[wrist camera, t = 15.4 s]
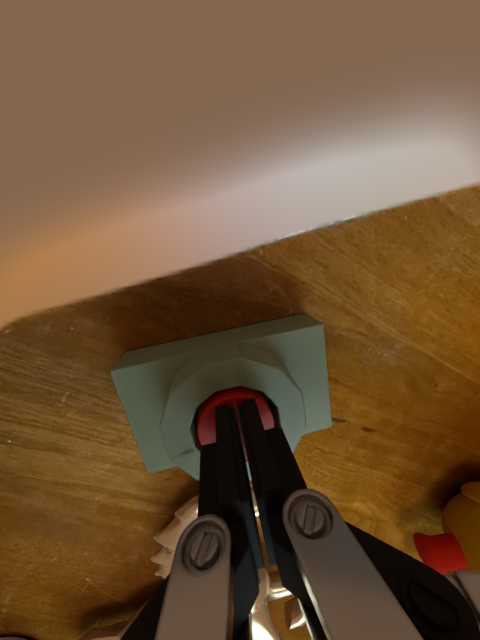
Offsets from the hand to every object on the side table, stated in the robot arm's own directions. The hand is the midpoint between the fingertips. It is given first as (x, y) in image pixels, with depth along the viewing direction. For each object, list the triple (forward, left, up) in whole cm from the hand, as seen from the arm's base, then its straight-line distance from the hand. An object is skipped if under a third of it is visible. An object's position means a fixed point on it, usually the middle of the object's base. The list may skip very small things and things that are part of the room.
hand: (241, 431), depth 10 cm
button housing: (0, 0, -4) cm, 4 cm away
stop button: (0, 0, -2) cm, 2 cm away
